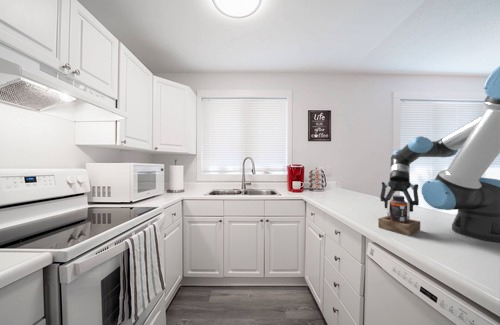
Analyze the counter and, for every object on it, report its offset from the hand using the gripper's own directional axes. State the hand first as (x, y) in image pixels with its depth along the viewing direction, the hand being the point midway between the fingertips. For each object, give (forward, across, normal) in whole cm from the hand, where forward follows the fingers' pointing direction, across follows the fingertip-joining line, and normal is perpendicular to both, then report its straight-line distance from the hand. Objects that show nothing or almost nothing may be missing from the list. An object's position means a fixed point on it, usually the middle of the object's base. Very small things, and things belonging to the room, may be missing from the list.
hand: (398, 215), depth 78 cm
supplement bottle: (0, 0, -5) cm, 5 cm away
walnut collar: (+2, 0, -7) cm, 7 cm away
